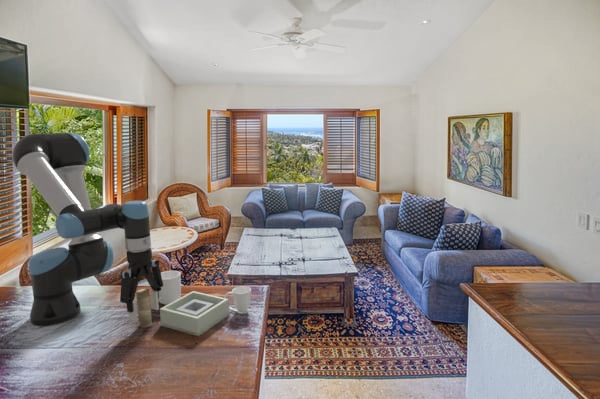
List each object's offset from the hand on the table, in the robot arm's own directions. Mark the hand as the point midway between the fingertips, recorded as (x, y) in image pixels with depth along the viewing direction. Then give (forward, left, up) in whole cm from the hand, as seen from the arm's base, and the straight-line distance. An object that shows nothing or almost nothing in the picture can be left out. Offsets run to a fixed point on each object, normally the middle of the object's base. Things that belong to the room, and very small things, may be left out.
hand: (144, 314), depth 132 cm
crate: (+13, +10, -4) cm, 17 cm away
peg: (0, 0, -4) cm, 4 cm away
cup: (+22, +22, -4) cm, 31 cm away
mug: (-7, +17, -4) cm, 19 cm away
